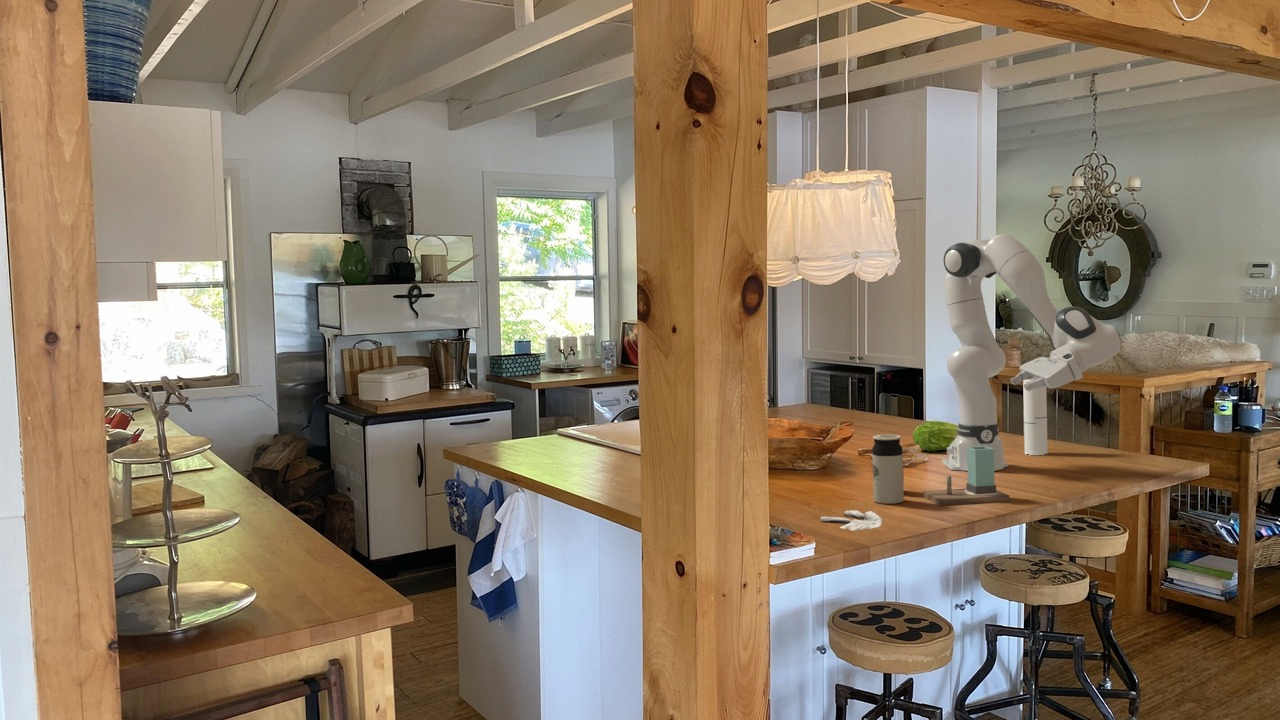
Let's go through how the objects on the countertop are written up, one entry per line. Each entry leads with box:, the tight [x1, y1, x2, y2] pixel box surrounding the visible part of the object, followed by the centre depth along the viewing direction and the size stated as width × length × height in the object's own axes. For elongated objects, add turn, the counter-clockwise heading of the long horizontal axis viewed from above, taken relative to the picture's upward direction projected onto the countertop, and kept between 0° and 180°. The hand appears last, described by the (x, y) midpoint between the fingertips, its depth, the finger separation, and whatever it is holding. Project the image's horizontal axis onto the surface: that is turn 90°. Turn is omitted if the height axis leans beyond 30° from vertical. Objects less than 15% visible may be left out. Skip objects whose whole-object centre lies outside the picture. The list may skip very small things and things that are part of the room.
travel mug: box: [871, 434, 905, 505], centre depth 270 cm, size 8×8×18 cm
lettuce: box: [912, 420, 959, 452], centre depth 349 cm, size 12×24×13 cm
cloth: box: [819, 509, 884, 531], centre depth 252 cm, size 20×22×2 cm
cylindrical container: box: [1022, 379, 1049, 456], centre depth 332 cm, size 7×7×25 cm
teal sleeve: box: [965, 446, 997, 494], centre depth 269 cm, size 6×6×12 cm
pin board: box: [923, 475, 1010, 506], centre depth 269 cm, size 12×19×6 cm, turn 95°
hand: (1018, 385), depth 273 cm, fingers open, 8 cm apart
